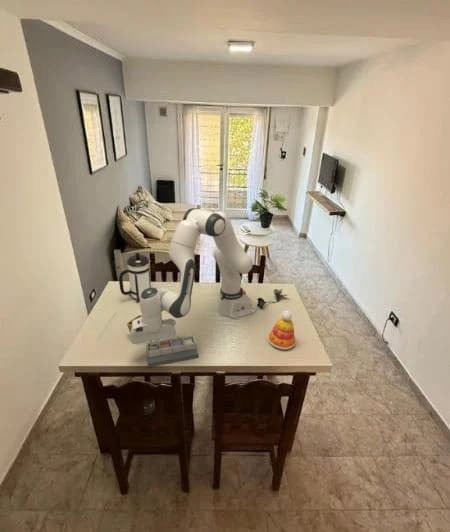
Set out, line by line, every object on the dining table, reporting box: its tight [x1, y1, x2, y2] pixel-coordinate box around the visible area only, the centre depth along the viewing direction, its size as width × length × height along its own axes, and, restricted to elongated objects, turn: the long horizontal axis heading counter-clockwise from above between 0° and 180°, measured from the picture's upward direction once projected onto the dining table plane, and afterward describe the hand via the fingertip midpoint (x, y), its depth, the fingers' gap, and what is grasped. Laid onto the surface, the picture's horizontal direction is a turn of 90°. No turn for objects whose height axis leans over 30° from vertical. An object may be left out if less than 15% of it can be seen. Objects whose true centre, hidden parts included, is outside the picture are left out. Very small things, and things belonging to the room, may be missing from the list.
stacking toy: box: [267, 310, 297, 351], centre depth 153 cm, size 14×14×20 cm
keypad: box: [145, 334, 199, 368], centre depth 146 cm, size 23×14×6 cm, turn 108°
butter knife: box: [95, 325, 109, 341], centre depth 163 cm, size 1×24×3 cm
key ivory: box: [184, 339, 193, 344], centre depth 149 cm, size 4×4×4 cm
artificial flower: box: [256, 288, 288, 310], centre depth 190 cm, size 9×22×10 cm, turn 123°
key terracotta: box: [161, 343, 170, 349], centre depth 146 cm, size 4×4×4 cm
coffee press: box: [118, 252, 152, 304], centre depth 182 cm, size 17×16×30 cm
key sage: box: [149, 346, 158, 351], centre depth 144 cm, size 4×4×4 cm
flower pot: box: [126, 314, 142, 334], centre depth 155 cm, size 9×9×9 cm
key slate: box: [172, 340, 182, 346], centre depth 147 cm, size 4×4×4 cm
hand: (154, 345), depth 143 cm, fingers closed
